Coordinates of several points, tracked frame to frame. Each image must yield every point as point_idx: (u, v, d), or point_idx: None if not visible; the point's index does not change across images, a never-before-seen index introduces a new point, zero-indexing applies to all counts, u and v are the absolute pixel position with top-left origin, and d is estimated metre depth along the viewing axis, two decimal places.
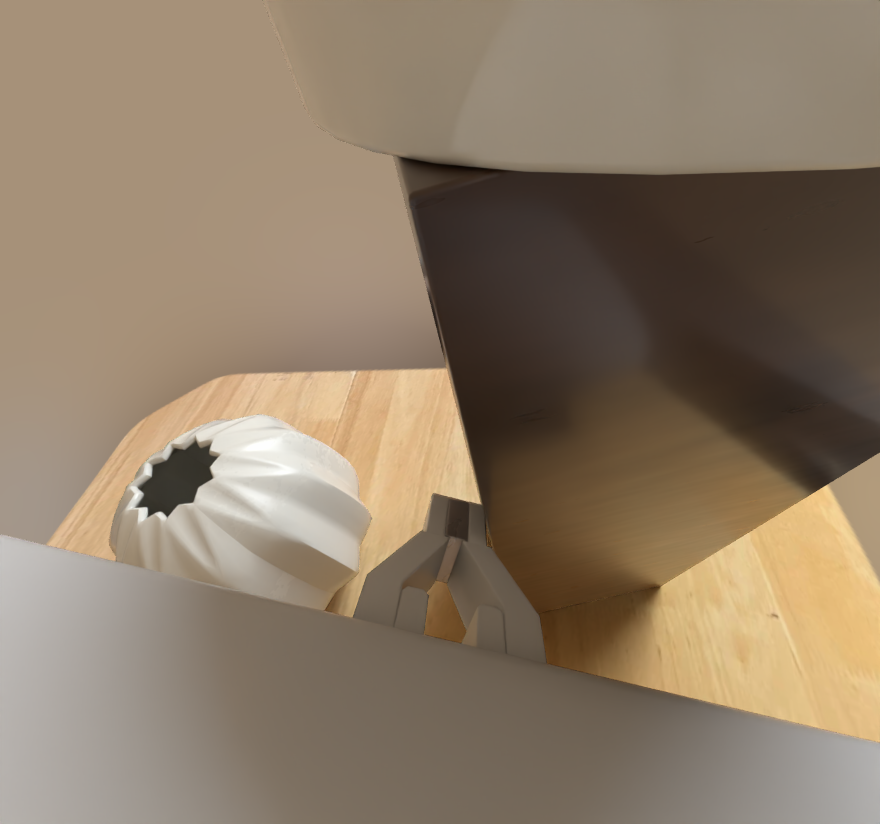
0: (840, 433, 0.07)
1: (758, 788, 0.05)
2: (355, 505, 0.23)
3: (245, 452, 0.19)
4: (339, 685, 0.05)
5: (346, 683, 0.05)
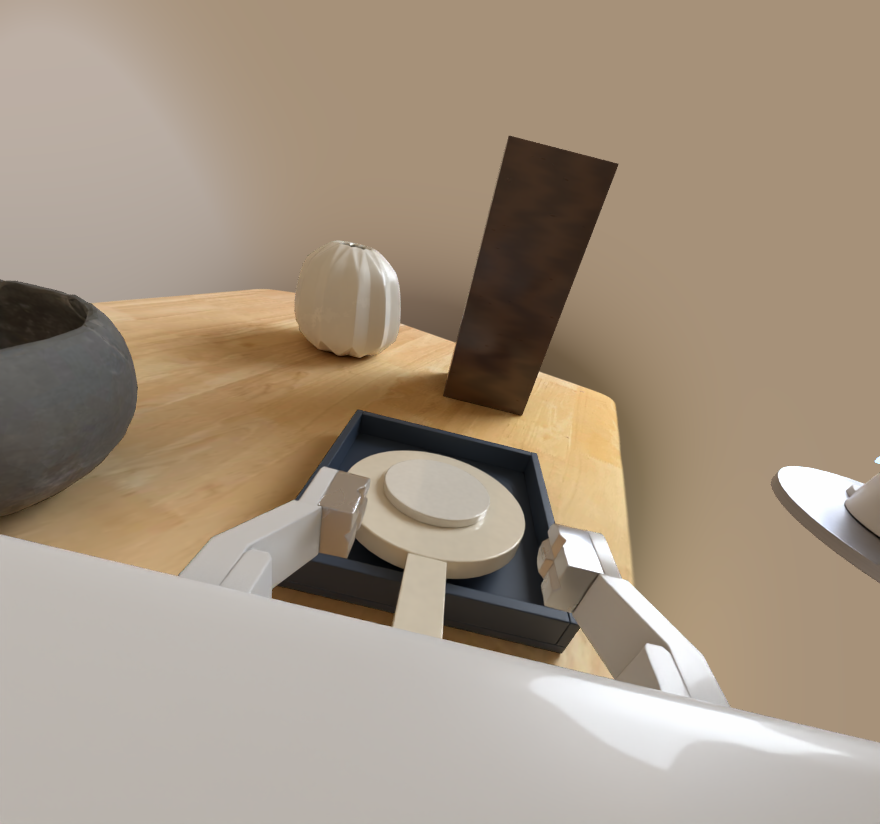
0: (564, 238, 0.34)
1: (758, 788, 0.05)
2: (398, 318, 0.47)
3: (382, 256, 0.45)
4: (339, 685, 0.05)
5: (346, 683, 0.05)
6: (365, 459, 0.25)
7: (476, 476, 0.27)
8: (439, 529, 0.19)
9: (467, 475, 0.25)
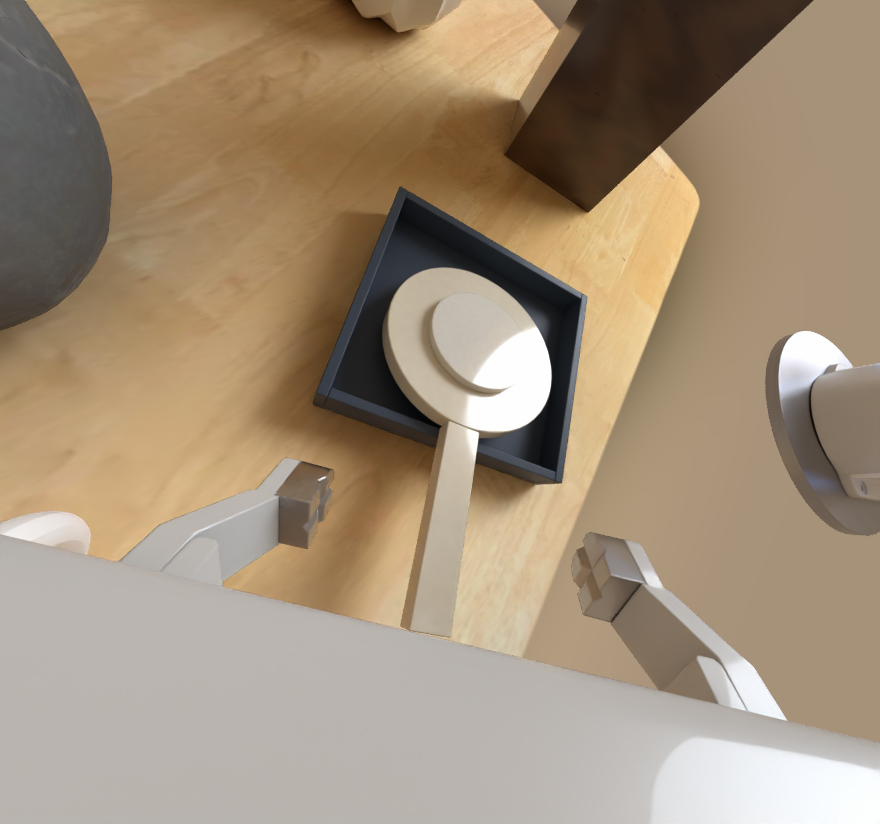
0: None
1: (758, 788, 0.05)
2: None
3: None
4: (339, 685, 0.05)
5: (346, 683, 0.05)
6: (409, 282, 0.22)
7: (519, 320, 0.25)
8: (476, 394, 0.21)
9: (512, 324, 0.24)
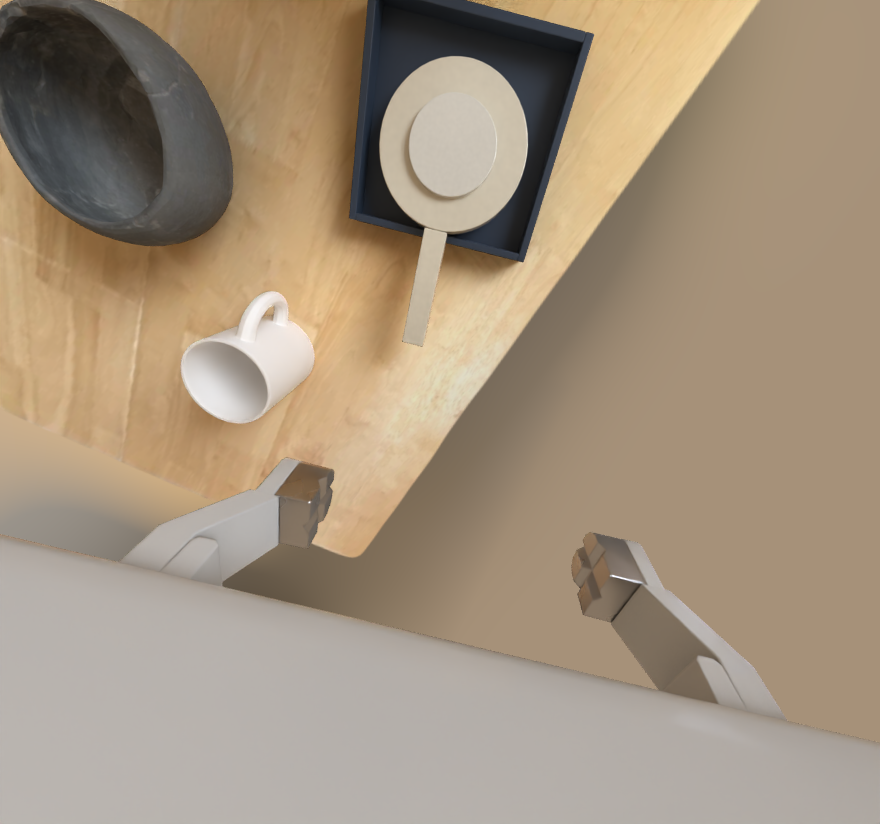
0: None
1: (758, 788, 0.05)
2: None
3: None
4: (339, 685, 0.05)
5: (346, 683, 0.05)
6: (393, 101, 0.27)
7: (500, 103, 0.27)
8: (447, 201, 0.29)
9: (484, 118, 0.27)
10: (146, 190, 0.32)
